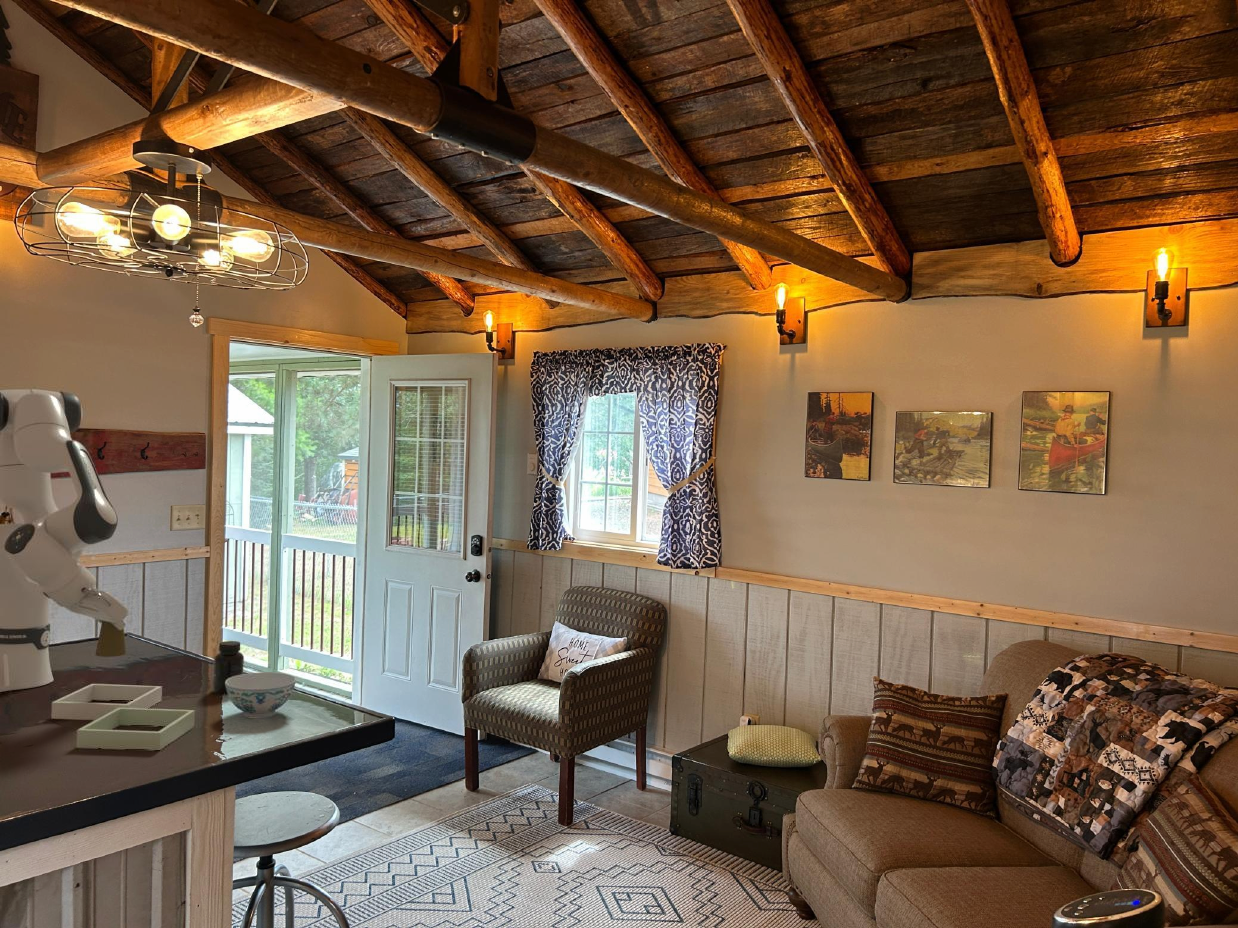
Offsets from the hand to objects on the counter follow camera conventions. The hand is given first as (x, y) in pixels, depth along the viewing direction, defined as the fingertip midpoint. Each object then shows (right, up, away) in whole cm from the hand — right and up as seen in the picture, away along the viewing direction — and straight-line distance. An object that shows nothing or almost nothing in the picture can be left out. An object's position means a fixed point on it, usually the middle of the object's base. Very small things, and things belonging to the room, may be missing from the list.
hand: (115, 625), depth 203 cm
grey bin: (-1, -19, -1) cm, 19 cm away
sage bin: (+15, -20, -18) cm, 30 cm away
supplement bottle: (+17, -20, +19) cm, 32 cm away
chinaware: (+32, -21, +2) cm, 38 cm away
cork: (-1, -6, -1) cm, 6 cm away
